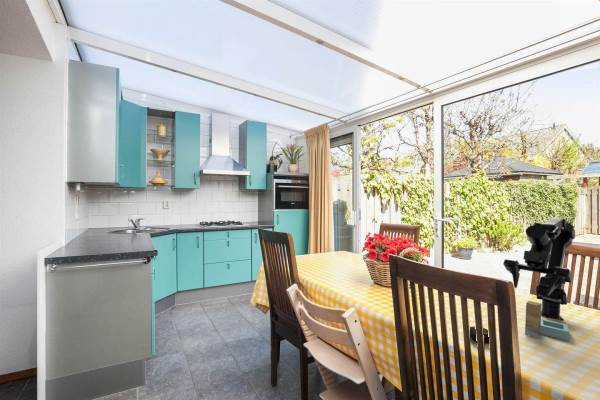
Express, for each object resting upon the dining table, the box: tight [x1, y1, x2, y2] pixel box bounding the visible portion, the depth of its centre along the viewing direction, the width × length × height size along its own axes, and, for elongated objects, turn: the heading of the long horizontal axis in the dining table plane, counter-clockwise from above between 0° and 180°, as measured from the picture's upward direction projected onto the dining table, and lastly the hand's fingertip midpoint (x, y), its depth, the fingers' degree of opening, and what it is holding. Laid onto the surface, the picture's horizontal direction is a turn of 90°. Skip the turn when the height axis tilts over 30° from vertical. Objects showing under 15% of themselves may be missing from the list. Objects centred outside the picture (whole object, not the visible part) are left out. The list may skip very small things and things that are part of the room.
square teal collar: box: [540, 318, 570, 342], centre depth 105 cm, size 8×8×3 cm
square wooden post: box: [524, 300, 542, 339], centre depth 103 cm, size 4×4×11 cm
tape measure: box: [469, 325, 490, 345], centre depth 97 cm, size 7×7×4 cm
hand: (530, 291), depth 104 cm, fingers open, 9 cm apart
